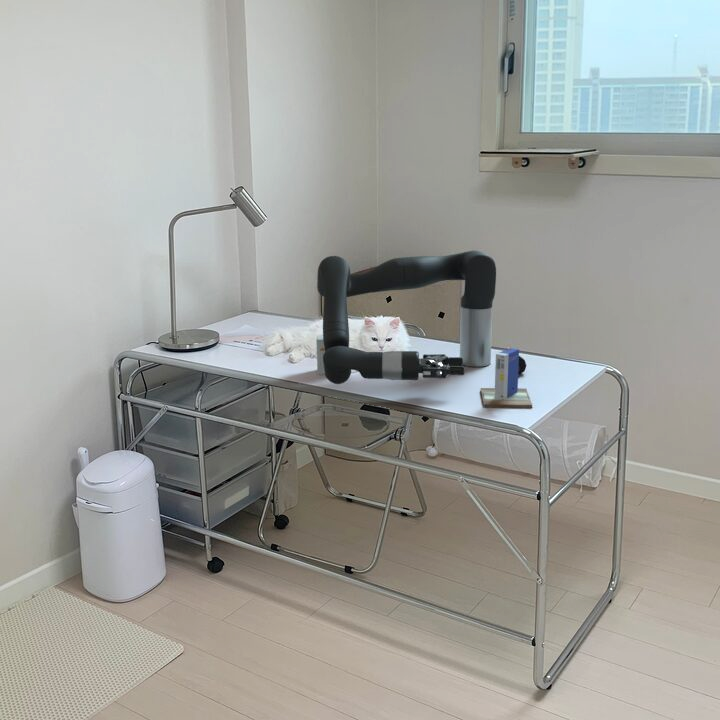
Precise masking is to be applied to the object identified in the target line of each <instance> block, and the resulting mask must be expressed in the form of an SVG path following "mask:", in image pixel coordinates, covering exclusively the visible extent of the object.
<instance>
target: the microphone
mask: <svg viewBox="0 0 720 720" xmlns="http://www.w3.org/2000/svg"><path fill="white" fill-rule="evenodd" d="M526 368H527V363H526V361H525V359H524V358H523V357H522V356H520V355H519V366H518V375H521V374H522V373H524V372H526Z"/></svg>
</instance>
